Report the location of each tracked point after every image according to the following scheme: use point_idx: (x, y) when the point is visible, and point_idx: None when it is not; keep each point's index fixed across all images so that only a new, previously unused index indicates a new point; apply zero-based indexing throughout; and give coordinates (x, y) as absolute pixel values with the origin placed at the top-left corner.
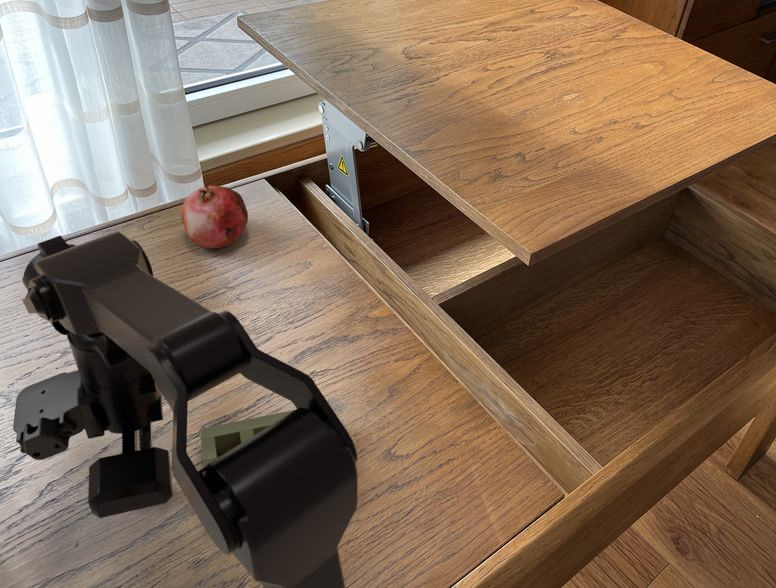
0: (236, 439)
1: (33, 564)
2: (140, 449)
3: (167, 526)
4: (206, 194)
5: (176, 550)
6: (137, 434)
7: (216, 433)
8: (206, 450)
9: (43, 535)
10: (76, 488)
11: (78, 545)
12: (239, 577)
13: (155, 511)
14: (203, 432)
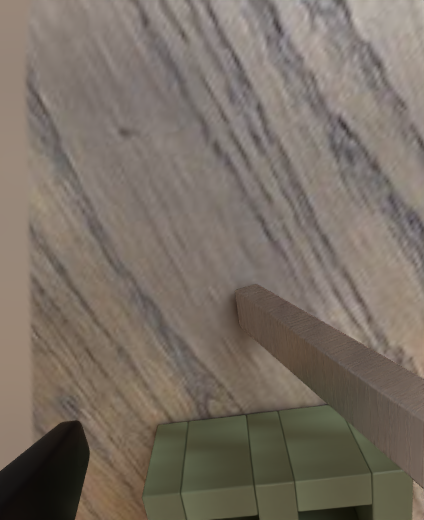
0: (359, 511)
1: (71, 16)
2: (347, 387)
3: (160, 341)
4: None
5: (100, 364)
6: (419, 440)
7: (382, 510)
8: (327, 488)
9: (160, 24)
10: (305, 93)
11: (123, 136)
12: None
13: (203, 311)
14: (395, 479)
